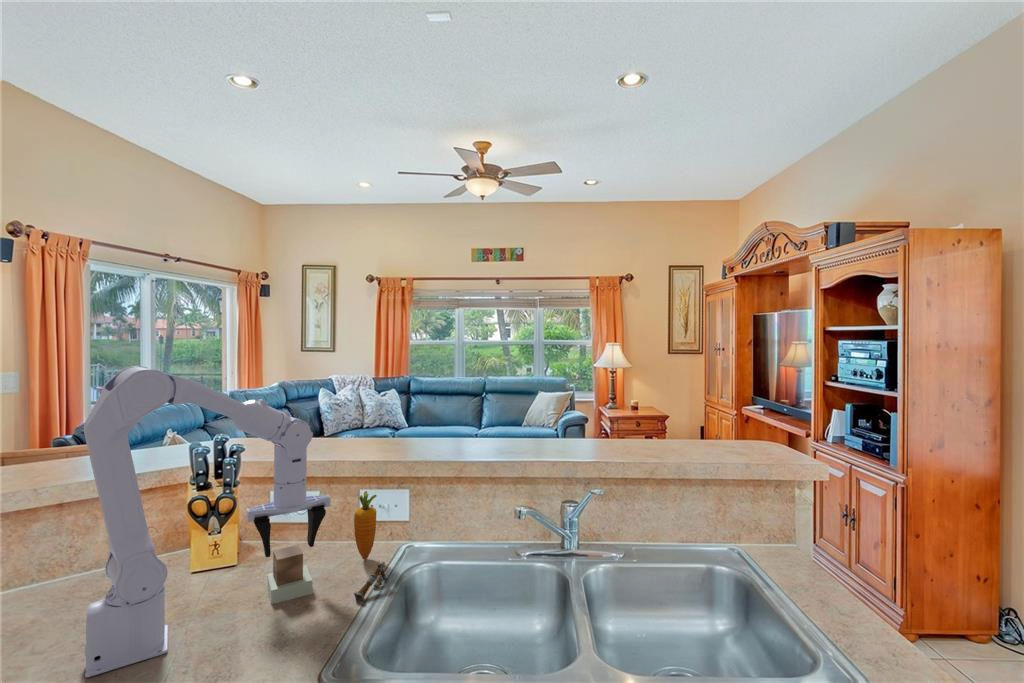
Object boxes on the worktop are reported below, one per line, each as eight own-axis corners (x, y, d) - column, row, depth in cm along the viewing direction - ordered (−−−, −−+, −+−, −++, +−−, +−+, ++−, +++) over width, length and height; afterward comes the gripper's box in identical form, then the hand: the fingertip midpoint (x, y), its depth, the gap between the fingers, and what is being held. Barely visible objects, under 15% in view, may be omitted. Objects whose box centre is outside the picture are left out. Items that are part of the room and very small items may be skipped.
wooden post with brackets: (392, 576, 95) (386, 559, 93) (367, 611, 88) (360, 594, 87) (385, 574, 96) (379, 558, 94) (360, 609, 89) (353, 592, 87)
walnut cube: (276, 586, 87) (277, 559, 87) (273, 576, 91) (273, 550, 91) (302, 579, 90) (302, 553, 90) (298, 569, 94) (298, 544, 94)
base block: (271, 606, 86) (271, 590, 86) (267, 589, 92) (267, 573, 92) (312, 595, 90) (312, 580, 90) (305, 579, 96) (306, 564, 96)
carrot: (359, 553, 106) (360, 487, 106) (380, 555, 106) (381, 488, 105) (349, 564, 101) (349, 494, 101) (370, 565, 101) (371, 496, 100)
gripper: (250, 492, 83) (249, 568, 83) (334, 478, 91) (334, 548, 92) (245, 482, 89) (244, 553, 89) (325, 470, 97) (324, 535, 97)
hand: (289, 549), depth 91 cm, fingers open, 7 cm apart
